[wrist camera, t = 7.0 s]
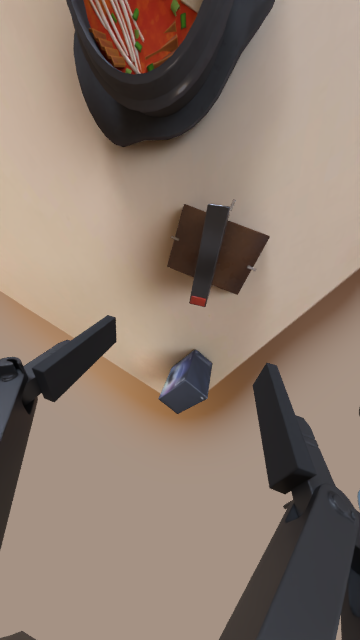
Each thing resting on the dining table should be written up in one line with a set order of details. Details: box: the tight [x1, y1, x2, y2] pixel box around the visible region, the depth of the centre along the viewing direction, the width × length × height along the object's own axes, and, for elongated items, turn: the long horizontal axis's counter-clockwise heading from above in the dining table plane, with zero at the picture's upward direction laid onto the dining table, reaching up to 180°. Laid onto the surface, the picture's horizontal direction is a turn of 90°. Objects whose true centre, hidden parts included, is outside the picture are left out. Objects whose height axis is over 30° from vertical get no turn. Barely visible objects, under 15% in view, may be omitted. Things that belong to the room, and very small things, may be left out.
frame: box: [189, 204, 230, 307], centre depth 23 cm, size 11×2×10 cm, turn 172°
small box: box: [159, 349, 212, 414], centre depth 39 cm, size 11×6×10 cm, turn 142°
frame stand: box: [167, 199, 270, 295], centre depth 28 cm, size 15×15×3 cm
